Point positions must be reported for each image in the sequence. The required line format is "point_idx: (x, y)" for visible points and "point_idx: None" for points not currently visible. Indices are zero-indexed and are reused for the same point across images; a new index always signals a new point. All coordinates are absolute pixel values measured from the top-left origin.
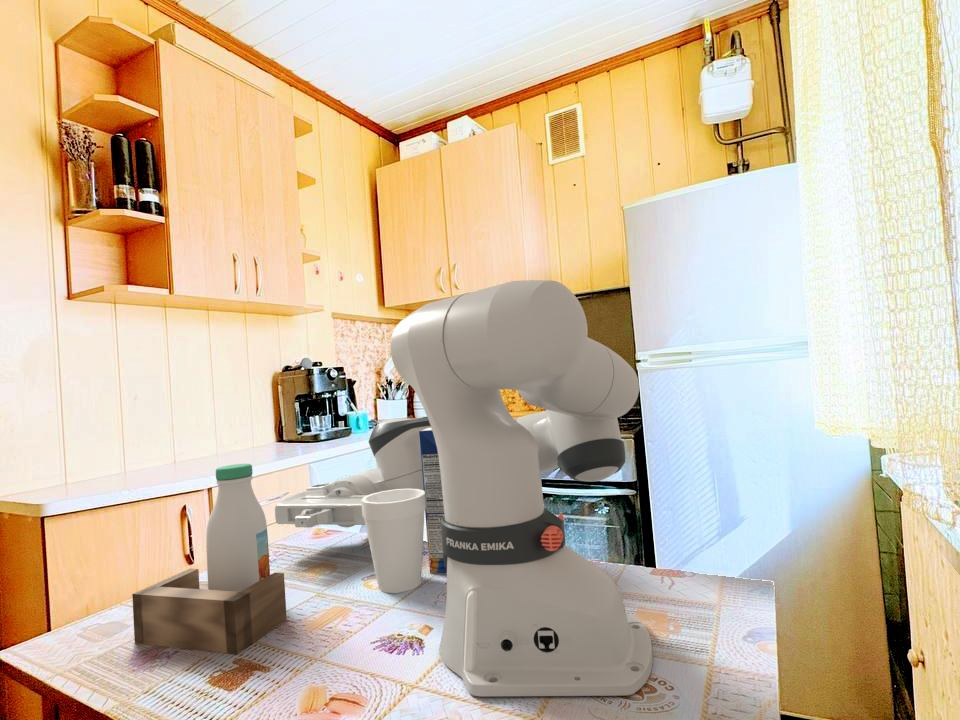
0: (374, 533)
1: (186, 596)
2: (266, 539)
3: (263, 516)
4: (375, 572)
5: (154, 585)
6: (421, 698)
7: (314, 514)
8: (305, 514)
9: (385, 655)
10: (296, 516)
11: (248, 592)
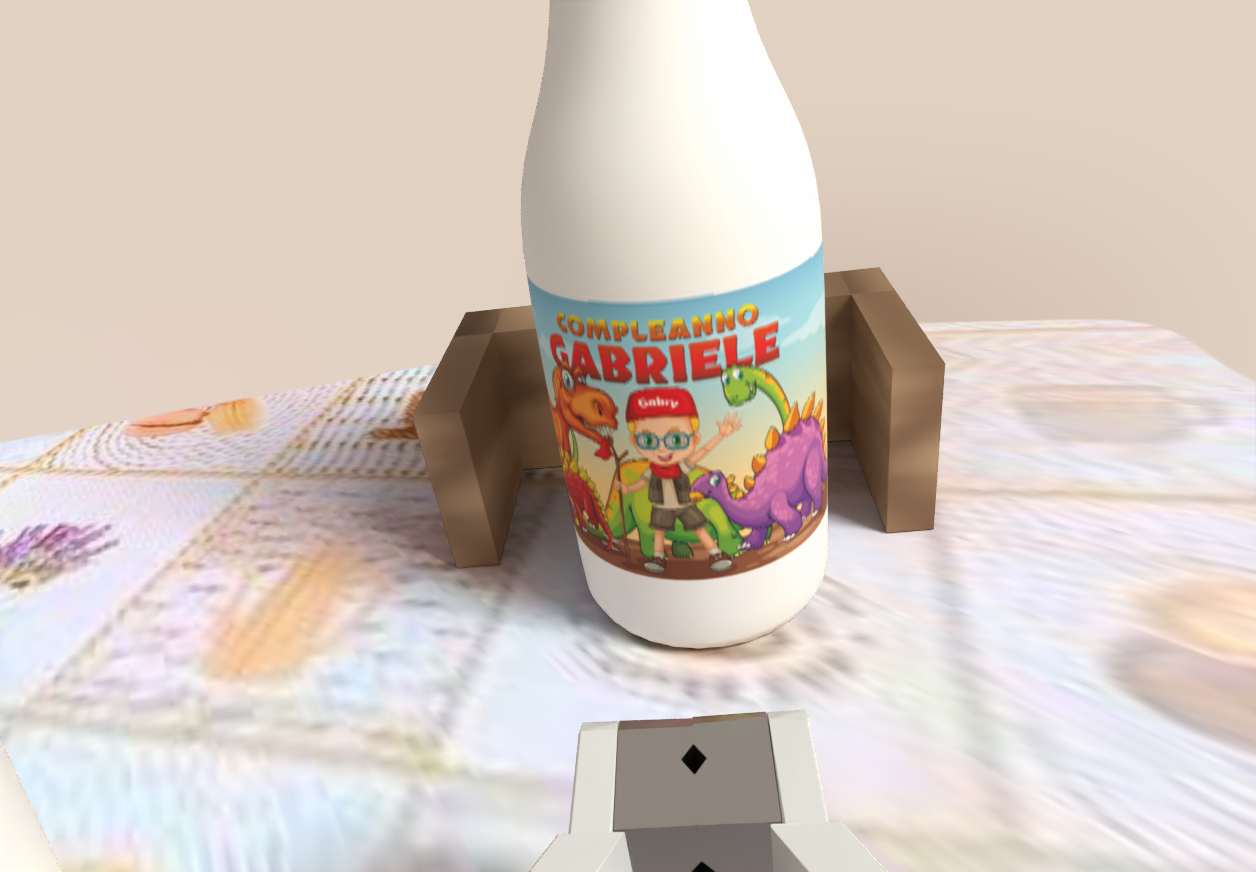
0: None
1: None
2: (540, 335)
3: (527, 209)
4: (30, 804)
5: (884, 294)
6: (16, 454)
7: (582, 814)
8: (743, 810)
9: (77, 516)
10: (803, 718)
11: (457, 336)
